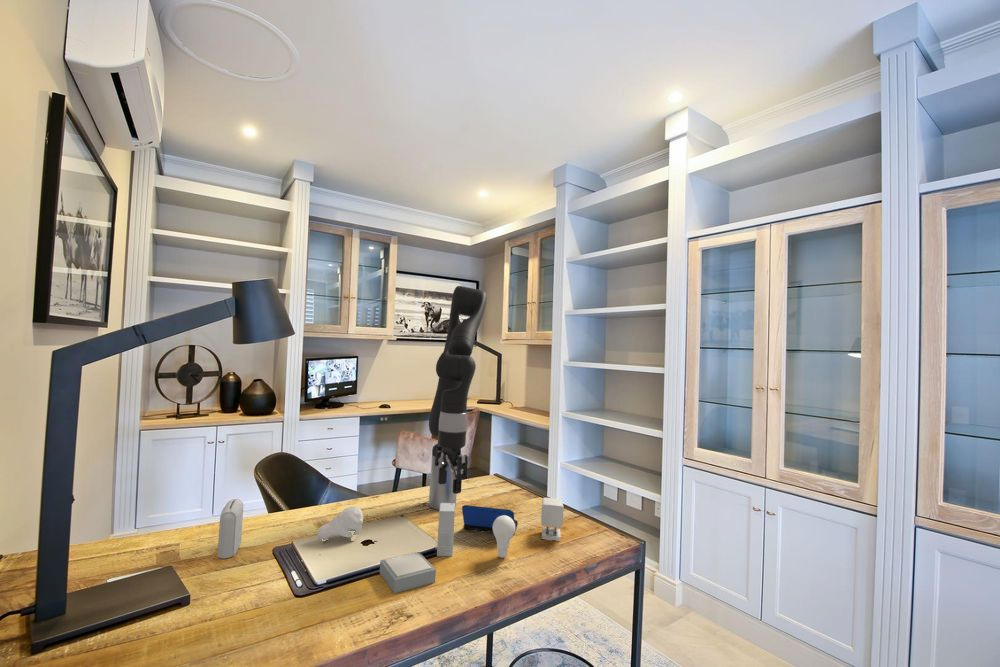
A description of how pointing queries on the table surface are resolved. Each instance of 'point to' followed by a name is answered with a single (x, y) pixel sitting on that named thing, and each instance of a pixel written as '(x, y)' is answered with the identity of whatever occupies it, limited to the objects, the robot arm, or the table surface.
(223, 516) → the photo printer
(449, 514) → the skincare box
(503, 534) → the lightbulb
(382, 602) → the table surface
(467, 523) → the handheld game console
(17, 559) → the table surface
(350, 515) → the white rounded figure
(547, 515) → the white block on posts
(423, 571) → the plinth
